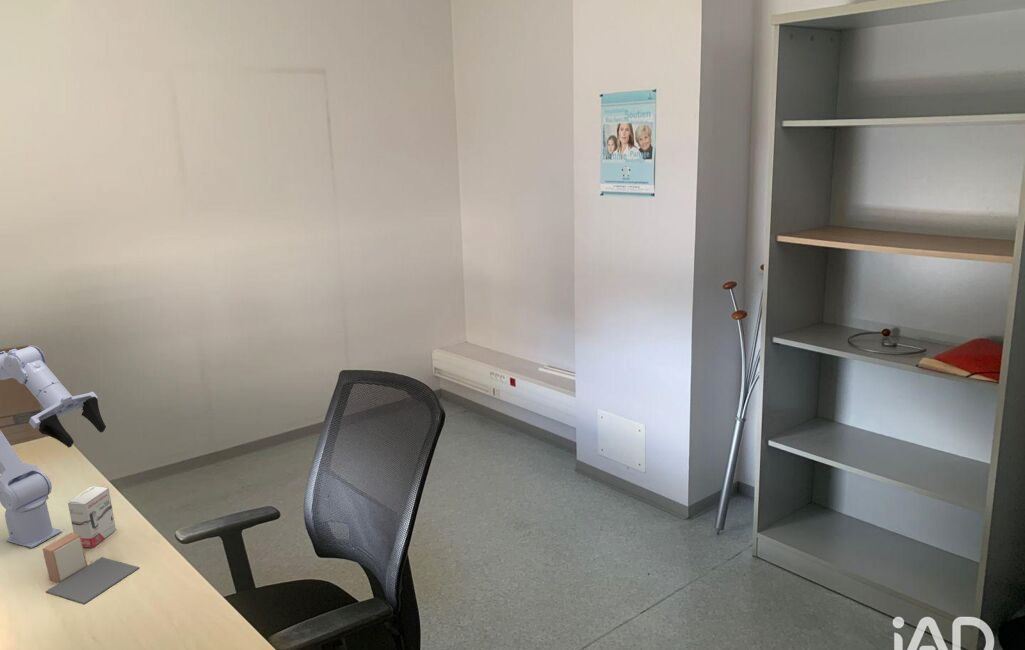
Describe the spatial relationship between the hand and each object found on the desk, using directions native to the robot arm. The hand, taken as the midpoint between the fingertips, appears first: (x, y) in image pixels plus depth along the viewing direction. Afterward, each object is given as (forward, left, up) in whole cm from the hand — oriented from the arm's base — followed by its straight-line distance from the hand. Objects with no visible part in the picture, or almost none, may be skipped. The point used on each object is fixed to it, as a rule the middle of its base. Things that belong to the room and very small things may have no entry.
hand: (87, 437), depth 172 cm
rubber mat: (+2, -7, -31) cm, 32 cm away
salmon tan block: (-6, -7, -31) cm, 32 cm away
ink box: (-13, +6, -31) cm, 34 cm away
